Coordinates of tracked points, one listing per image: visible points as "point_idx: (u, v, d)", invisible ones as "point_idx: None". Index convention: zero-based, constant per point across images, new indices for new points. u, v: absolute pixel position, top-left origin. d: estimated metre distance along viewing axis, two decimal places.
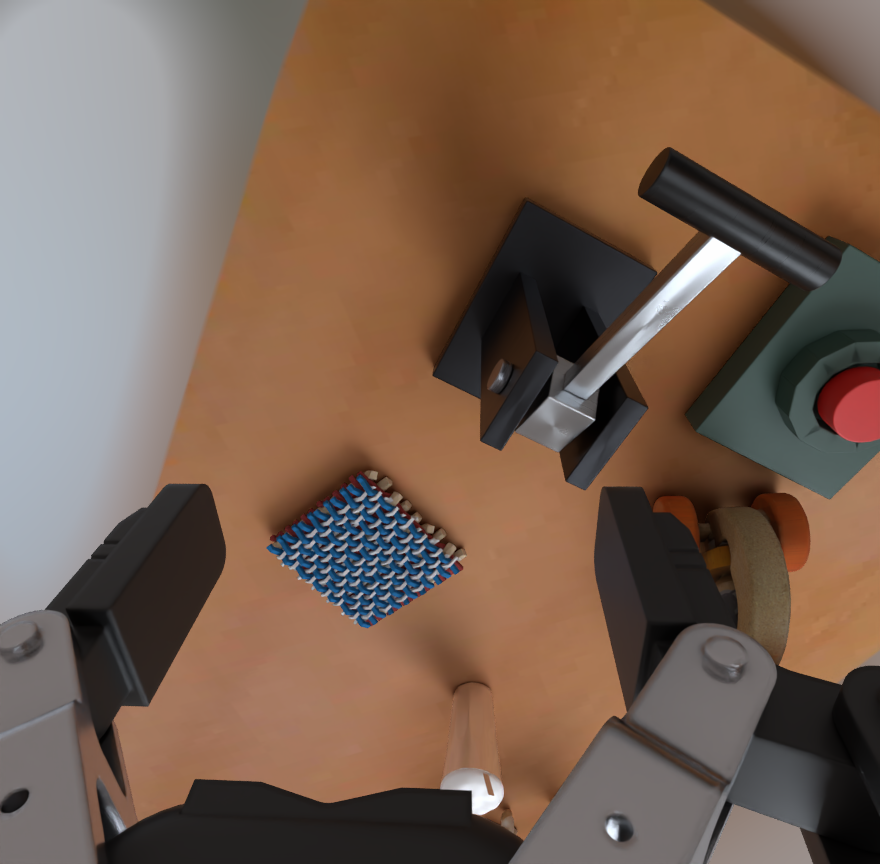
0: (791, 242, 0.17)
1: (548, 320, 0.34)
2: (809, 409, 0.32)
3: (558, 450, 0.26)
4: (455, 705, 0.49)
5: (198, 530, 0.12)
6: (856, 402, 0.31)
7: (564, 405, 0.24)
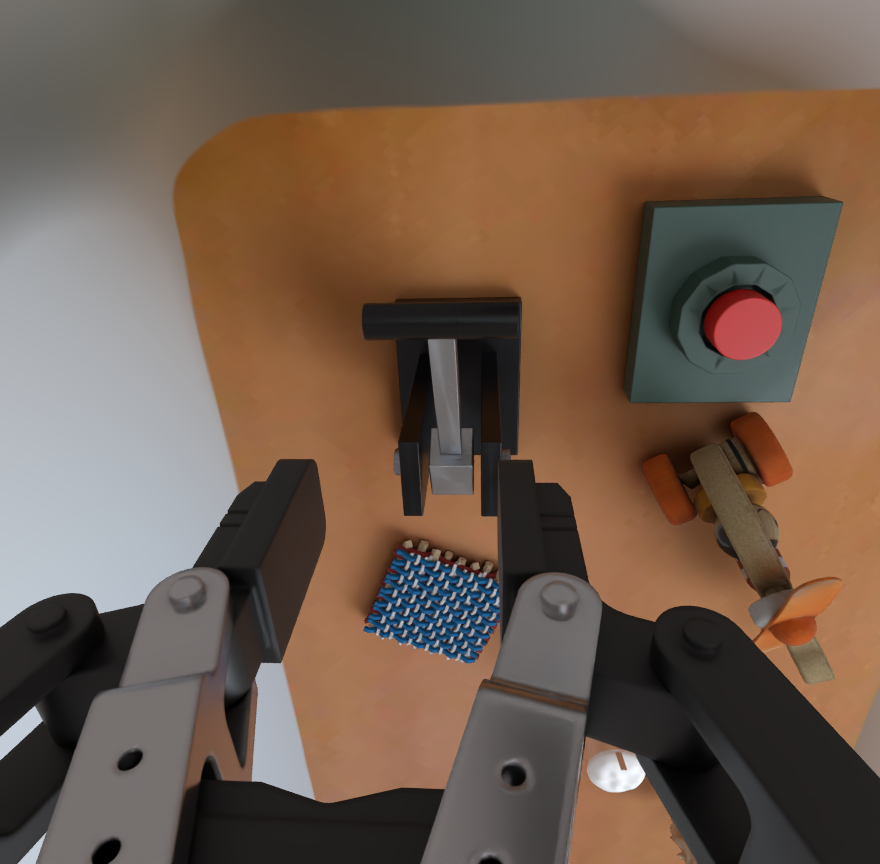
0: (474, 320, 0.23)
1: (462, 376, 0.40)
2: (702, 347, 0.35)
3: (471, 493, 0.32)
4: None
5: (309, 503, 0.13)
6: (728, 329, 0.33)
7: (443, 466, 0.30)
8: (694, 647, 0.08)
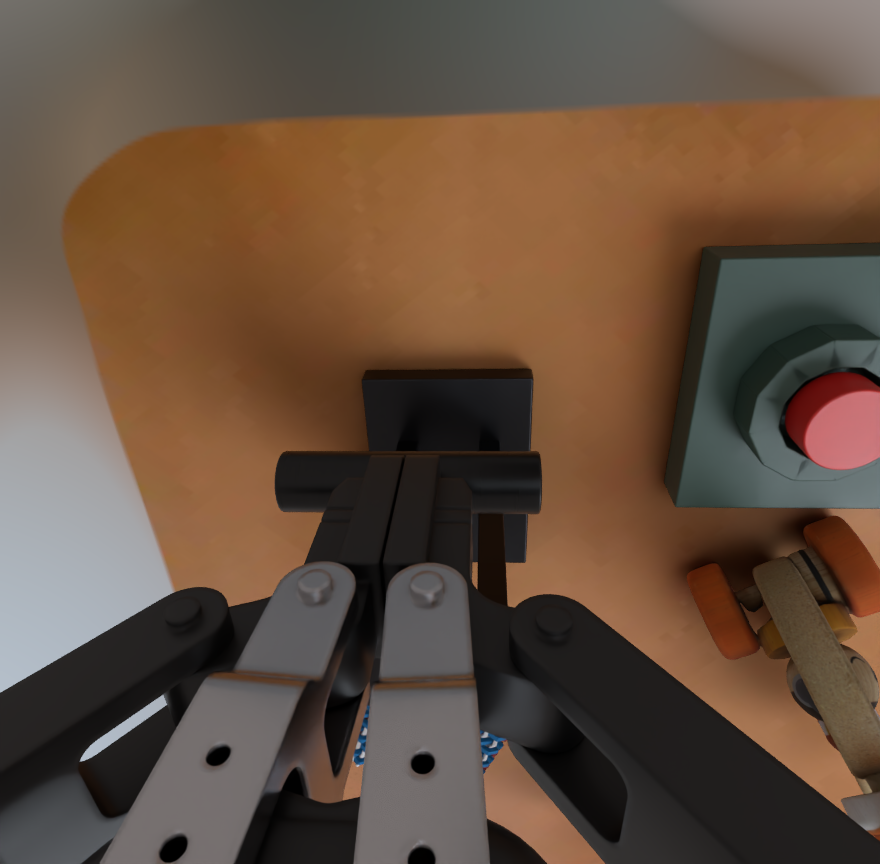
0: None
1: None
2: (782, 447, 0.26)
3: None
4: None
5: None
6: (825, 430, 0.24)
7: None
8: (542, 633, 0.08)
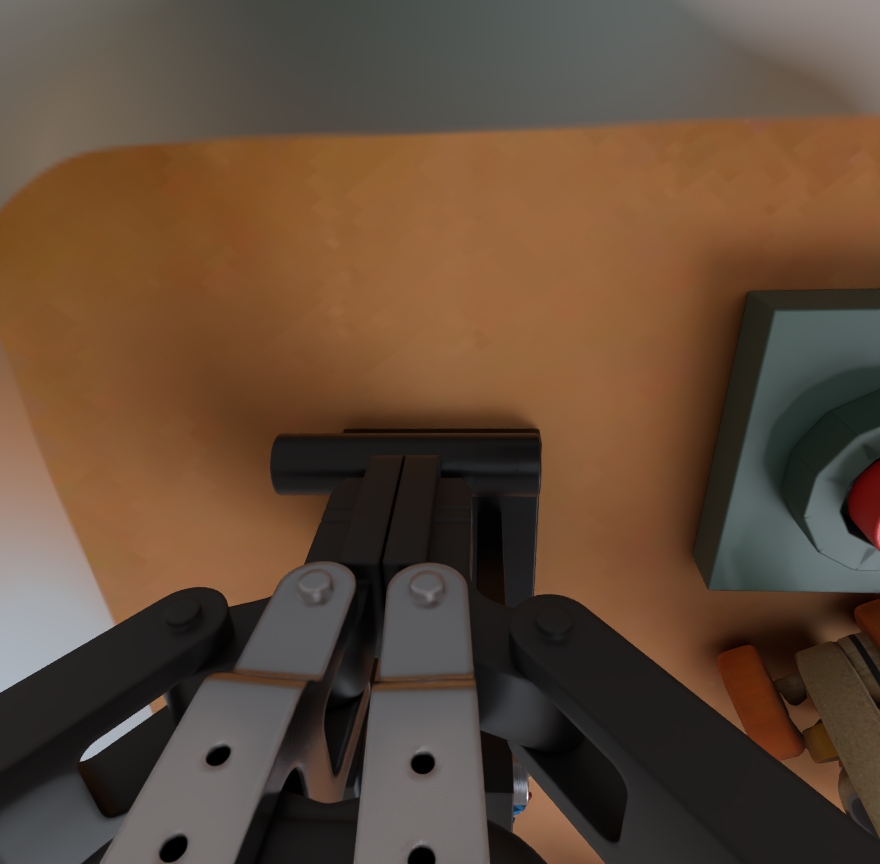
0: (464, 455, 0.13)
1: None
2: (843, 533, 0.21)
3: None
4: None
5: None
6: None
7: None
8: (543, 633, 0.08)
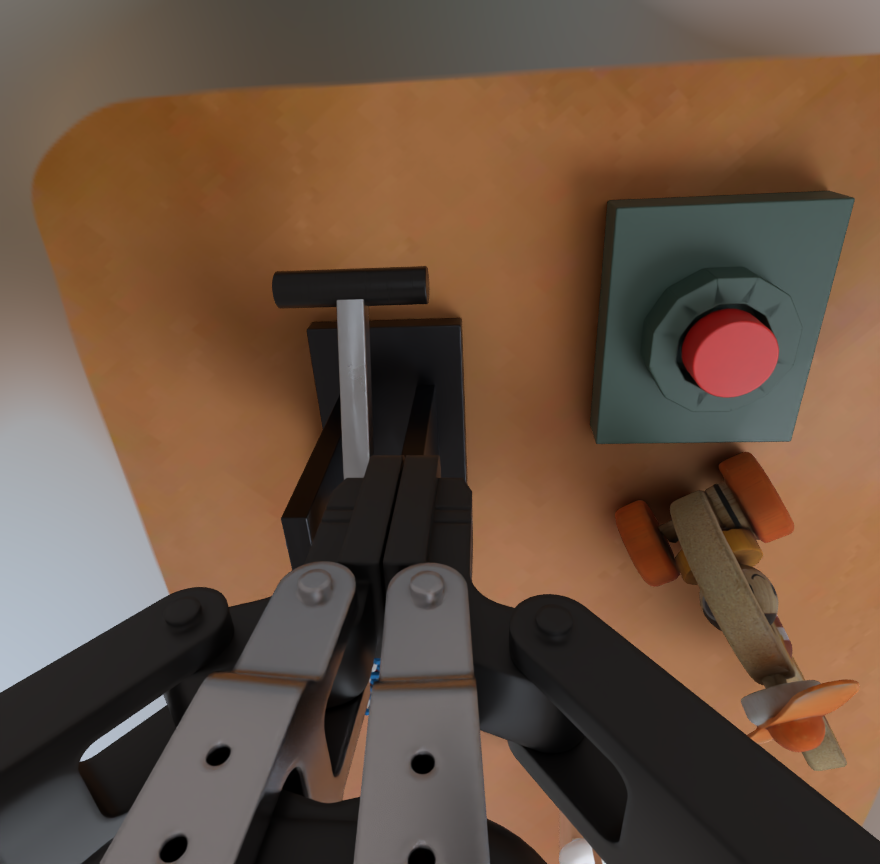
0: (383, 272, 0.23)
1: (395, 412, 0.33)
2: (681, 380, 0.28)
3: None
4: None
5: None
6: (711, 360, 0.26)
7: None
8: (542, 633, 0.08)
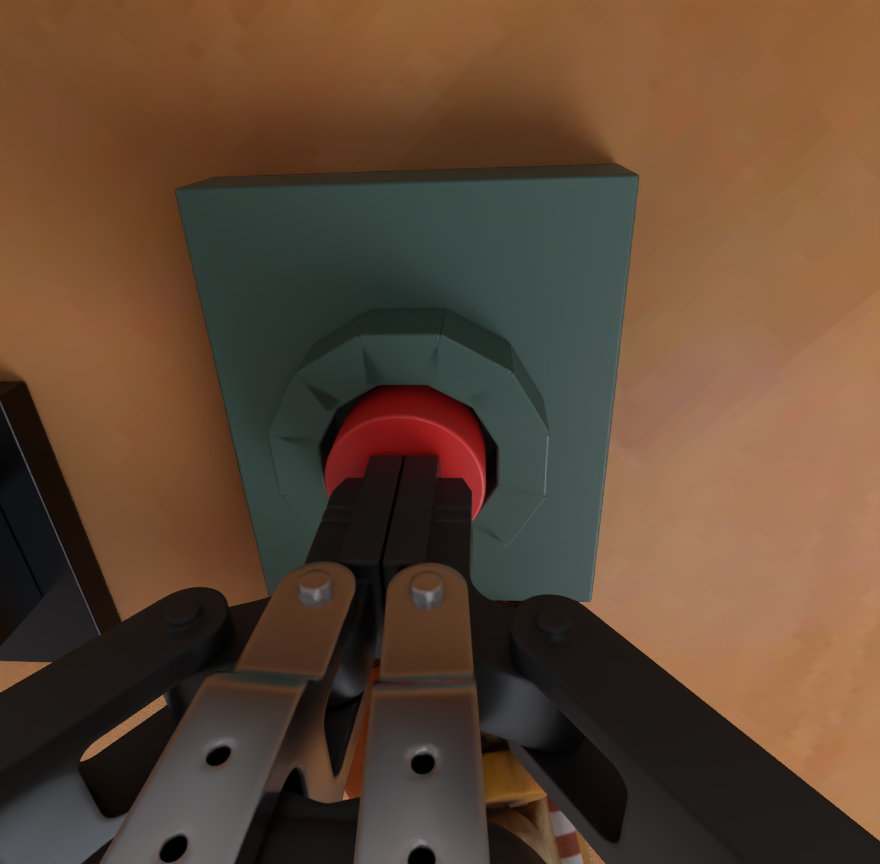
0: None
1: None
2: None
3: None
4: None
5: None
6: None
7: None
8: (542, 633, 0.08)
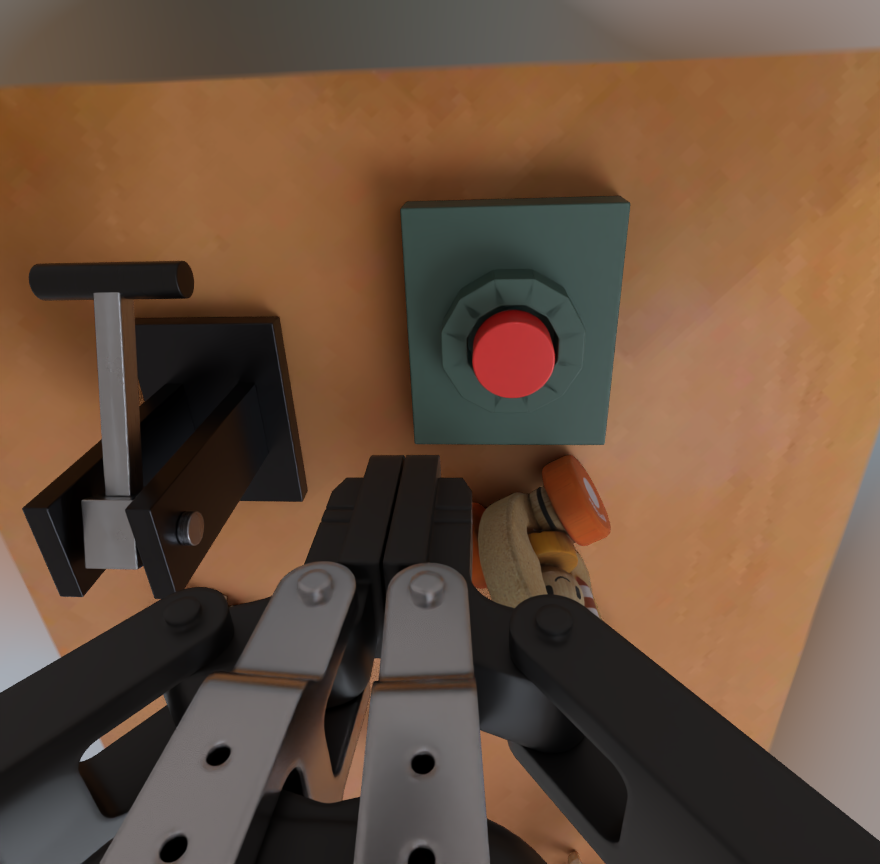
0: (137, 266, 0.24)
1: None
2: (475, 381, 0.29)
3: (134, 565, 0.24)
4: None
5: None
6: (489, 360, 0.27)
7: (98, 501, 0.24)
8: (542, 633, 0.08)
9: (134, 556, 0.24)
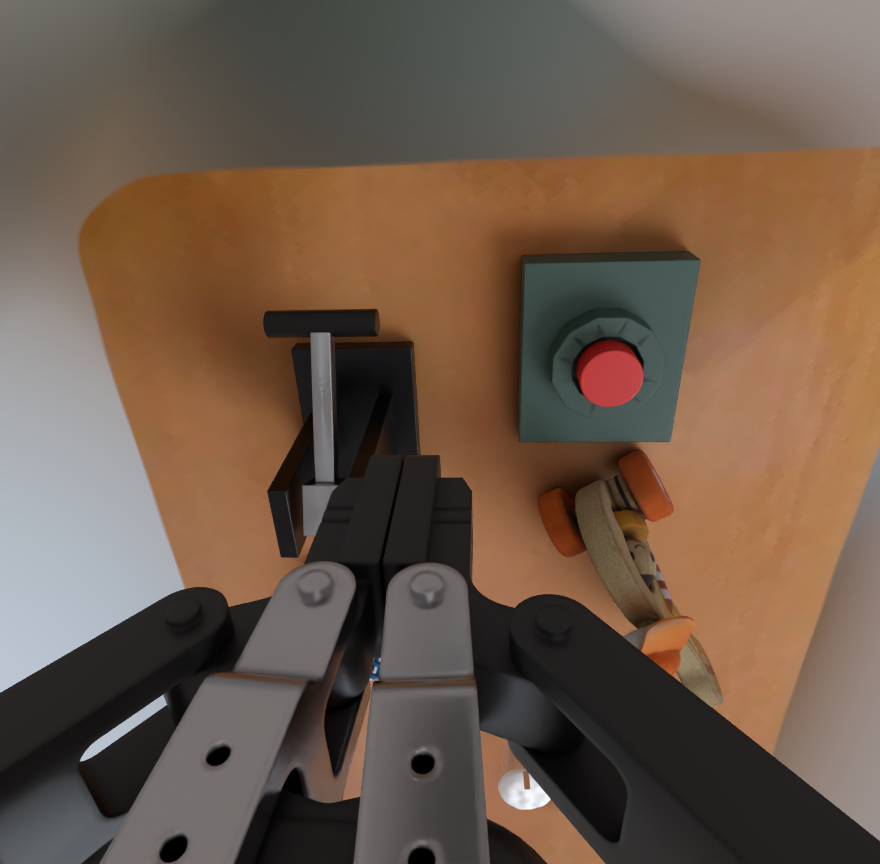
0: (344, 313, 0.32)
1: (362, 415, 0.42)
2: (576, 393, 0.37)
3: None
4: None
5: None
6: (593, 378, 0.35)
7: (314, 486, 0.32)
8: (542, 633, 0.08)
9: None
